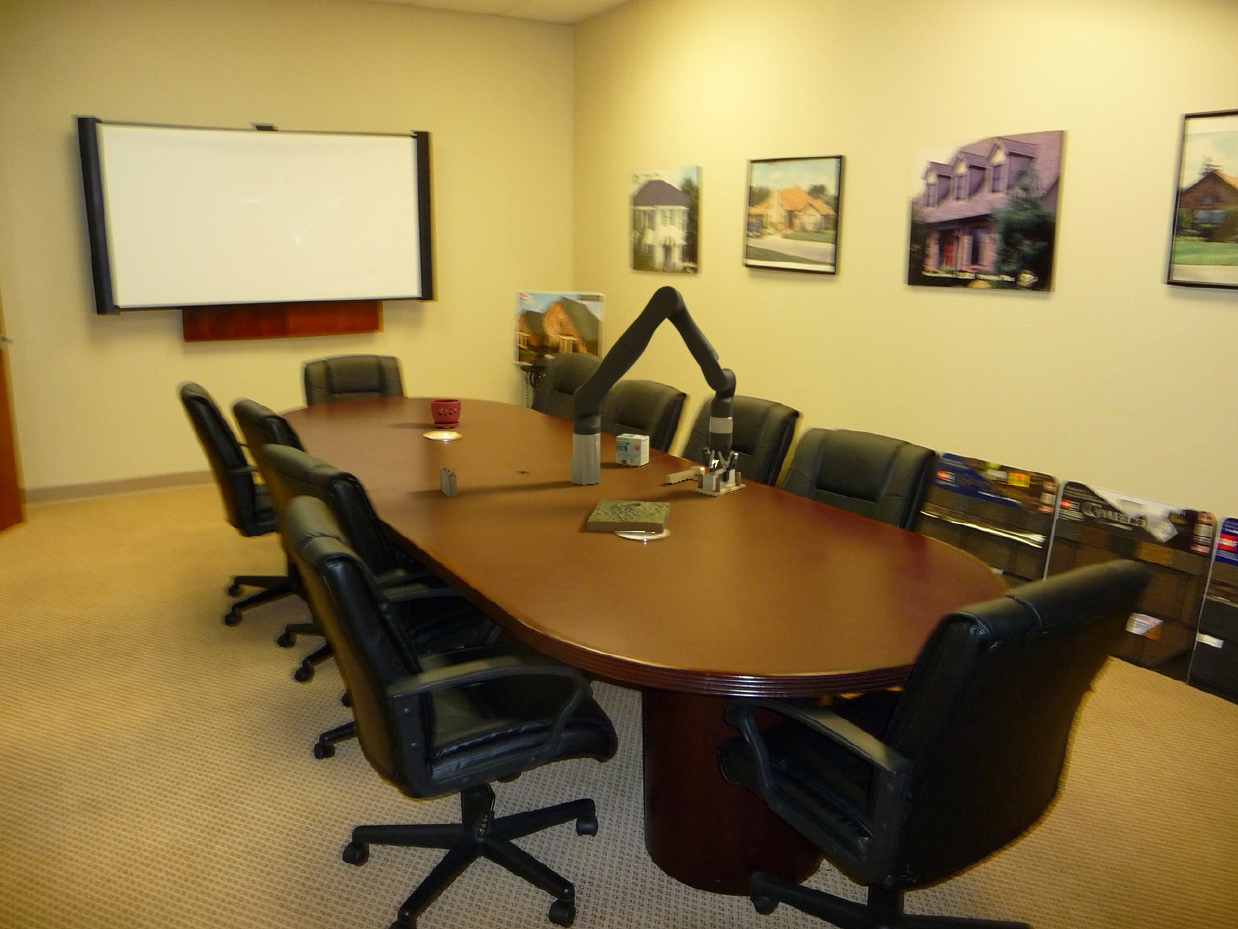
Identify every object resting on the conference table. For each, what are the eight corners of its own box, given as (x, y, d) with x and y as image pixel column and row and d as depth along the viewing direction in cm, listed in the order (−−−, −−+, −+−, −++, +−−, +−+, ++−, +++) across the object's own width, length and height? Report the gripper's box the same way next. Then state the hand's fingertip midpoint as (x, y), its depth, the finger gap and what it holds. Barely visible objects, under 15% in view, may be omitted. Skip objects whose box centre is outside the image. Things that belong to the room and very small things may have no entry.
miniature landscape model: (586, 532, 276) (586, 515, 275) (600, 510, 299) (600, 494, 298) (662, 536, 273) (663, 518, 272) (671, 513, 296) (671, 497, 295)
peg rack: (715, 497, 314) (716, 480, 313) (692, 491, 320) (692, 475, 319) (745, 488, 325) (745, 472, 324) (722, 483, 332) (722, 467, 330)
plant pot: (466, 427, 432) (465, 401, 429) (438, 430, 425) (437, 403, 422) (454, 423, 442) (453, 397, 440) (427, 425, 436) (426, 399, 433)
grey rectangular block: (711, 491, 316) (712, 476, 315) (702, 489, 318) (703, 474, 317) (734, 483, 327) (734, 469, 326) (725, 482, 329) (726, 467, 328)
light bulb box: (615, 464, 360) (615, 436, 358) (623, 461, 366) (624, 433, 363) (641, 467, 355) (641, 438, 353) (649, 464, 361) (649, 435, 359)
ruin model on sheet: (458, 497, 313) (457, 468, 310) (449, 498, 311) (448, 469, 309) (449, 489, 323) (448, 461, 321) (440, 490, 321) (439, 461, 319)
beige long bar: (673, 484, 328) (674, 476, 327) (662, 482, 331) (662, 473, 331) (707, 475, 341) (708, 467, 341) (696, 473, 345) (696, 465, 344)
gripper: (696, 428, 320) (695, 479, 324) (731, 434, 311) (729, 486, 315) (710, 425, 326) (709, 475, 330) (745, 431, 316) (743, 482, 320)
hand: (719, 480), depth 322 cm, fingers open, 4 cm apart
